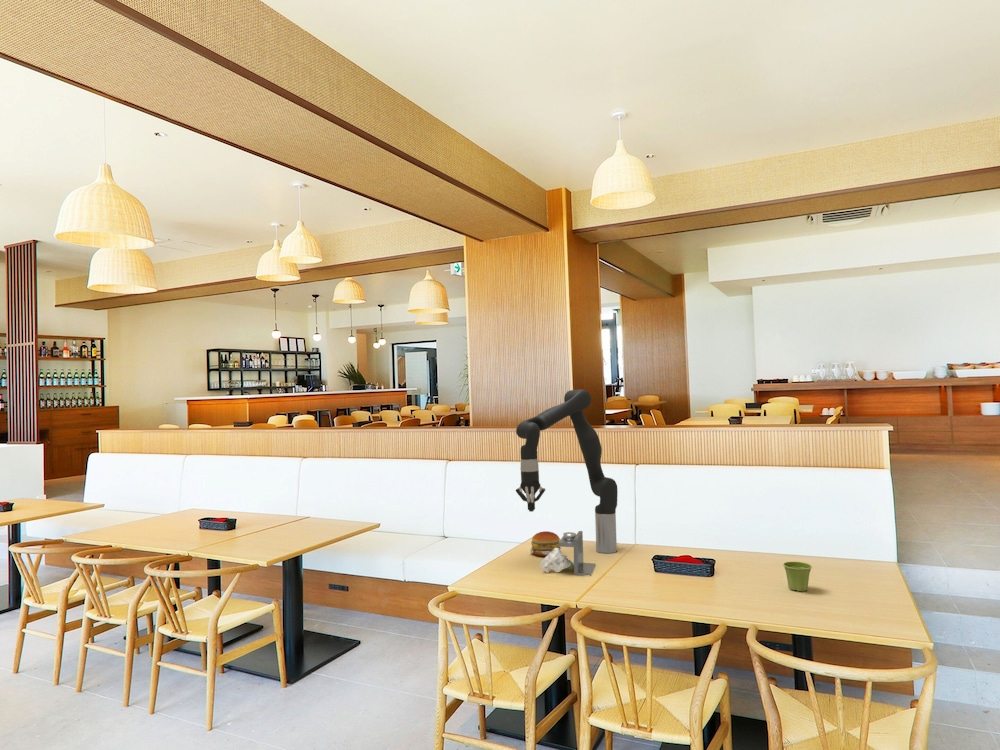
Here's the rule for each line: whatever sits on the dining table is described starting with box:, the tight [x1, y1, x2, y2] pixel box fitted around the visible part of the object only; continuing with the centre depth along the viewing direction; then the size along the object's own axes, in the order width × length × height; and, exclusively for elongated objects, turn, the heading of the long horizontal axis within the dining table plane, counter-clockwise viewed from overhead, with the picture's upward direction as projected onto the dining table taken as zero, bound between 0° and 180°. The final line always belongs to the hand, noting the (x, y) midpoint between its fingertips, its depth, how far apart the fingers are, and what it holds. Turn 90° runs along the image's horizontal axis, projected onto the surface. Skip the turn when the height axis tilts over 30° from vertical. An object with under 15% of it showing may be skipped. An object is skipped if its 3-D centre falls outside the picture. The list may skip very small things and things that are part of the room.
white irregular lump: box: [538, 548, 574, 574], centre depth 262 cm, size 12×9×10 cm
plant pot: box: [782, 561, 813, 592], centre depth 230 cm, size 9×9×9 cm
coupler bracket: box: [559, 530, 596, 577], centre depth 262 cm, size 16×12×14 cm
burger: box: [530, 530, 561, 557], centre depth 288 cm, size 13×14×10 cm
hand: (531, 511), depth 270 cm, fingers closed
